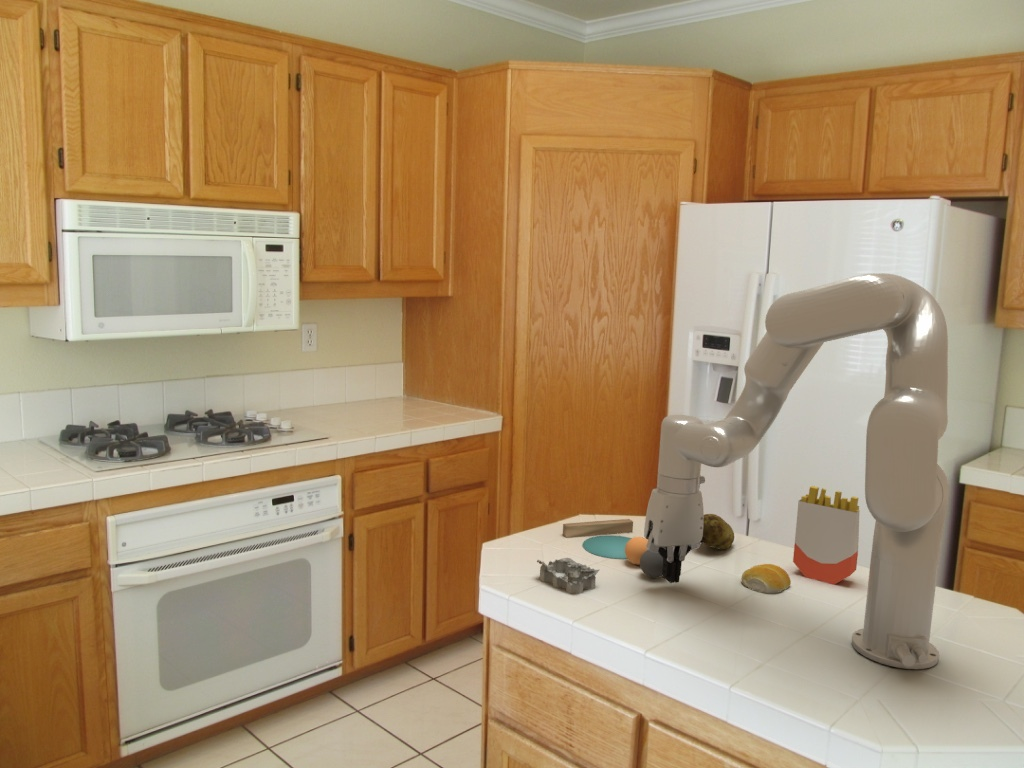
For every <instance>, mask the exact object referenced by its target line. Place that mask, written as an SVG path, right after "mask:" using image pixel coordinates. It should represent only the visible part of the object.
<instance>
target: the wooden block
mask: <svg viewBox="0 0 1024 768" xmlns="http://www.w3.org/2000/svg"><path fill="white" fill-rule="evenodd" d="M633 527H634V521H633V520H632V519H630V518H624V519H621V518H620V519H610V520H598V521H597V520H596V521H582V522H570V523H566V522H565V523H563V524H562V535H563V537H565V538H566V539H567V538H568V539H569V538H579V537H581V538H582V537H590V536H591V537H592V536H593V537H595V536H604V535H615V534H617V533H618V534H629V532H631V533H633V531H634V528H633ZM618 534H617V535H618Z"/></svg>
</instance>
